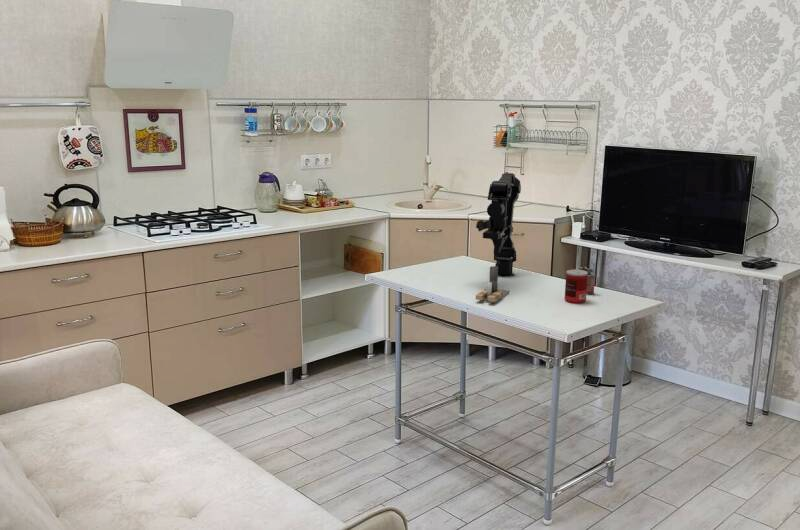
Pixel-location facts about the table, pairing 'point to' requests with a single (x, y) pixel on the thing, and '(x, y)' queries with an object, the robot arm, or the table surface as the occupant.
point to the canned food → (576, 286)
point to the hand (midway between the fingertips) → (497, 253)
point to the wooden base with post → (494, 292)
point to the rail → (489, 288)
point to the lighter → (589, 280)
